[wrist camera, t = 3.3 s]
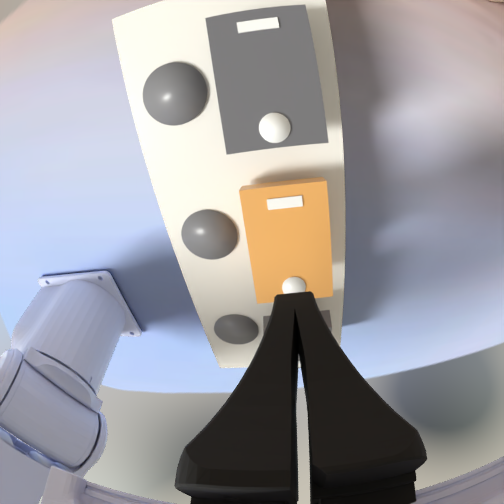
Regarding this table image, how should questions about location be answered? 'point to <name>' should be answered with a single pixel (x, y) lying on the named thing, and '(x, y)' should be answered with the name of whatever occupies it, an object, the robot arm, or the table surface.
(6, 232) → the table surface
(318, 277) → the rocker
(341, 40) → the table surface
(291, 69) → the rocker
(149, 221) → the table surface
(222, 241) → the switch panel
